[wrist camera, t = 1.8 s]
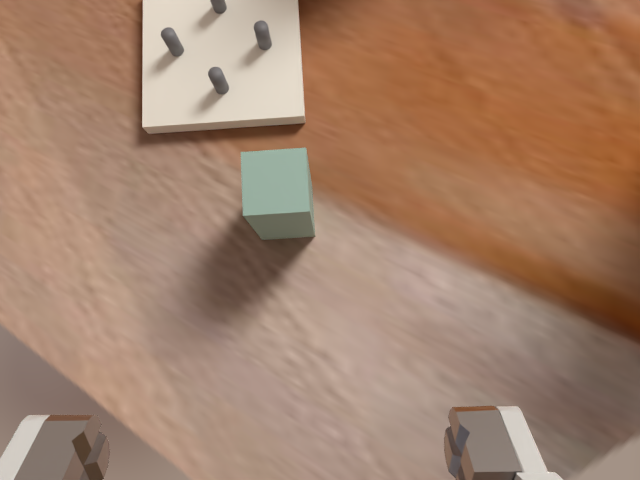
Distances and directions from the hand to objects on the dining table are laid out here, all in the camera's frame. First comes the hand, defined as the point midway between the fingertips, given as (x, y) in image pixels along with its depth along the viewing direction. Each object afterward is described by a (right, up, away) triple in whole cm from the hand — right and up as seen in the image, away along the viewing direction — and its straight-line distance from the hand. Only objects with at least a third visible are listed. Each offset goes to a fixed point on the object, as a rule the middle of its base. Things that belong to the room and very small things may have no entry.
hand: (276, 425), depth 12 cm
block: (-2, +7, +31) cm, 32 cm away
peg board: (-8, +21, +34) cm, 41 cm away
